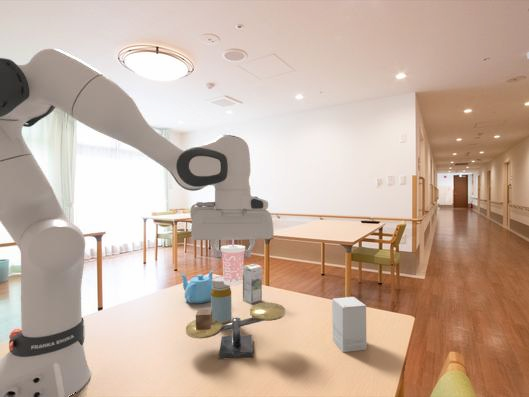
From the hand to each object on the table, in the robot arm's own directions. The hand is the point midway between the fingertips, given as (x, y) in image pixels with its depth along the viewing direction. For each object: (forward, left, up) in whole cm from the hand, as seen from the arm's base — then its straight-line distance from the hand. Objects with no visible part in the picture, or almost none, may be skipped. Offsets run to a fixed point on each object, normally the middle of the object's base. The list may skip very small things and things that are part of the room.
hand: (232, 257), depth 70 cm
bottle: (+9, +26, -29) cm, 40 cm away
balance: (+5, +8, -28) cm, 30 cm away
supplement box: (+33, -9, -29) cm, 45 cm away
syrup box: (+28, +36, -29) cm, 54 cm away
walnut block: (-3, +12, -21) cm, 25 cm away
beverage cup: (0, 0, -7) cm, 7 cm away
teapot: (+12, +51, -29) cm, 60 cm away
